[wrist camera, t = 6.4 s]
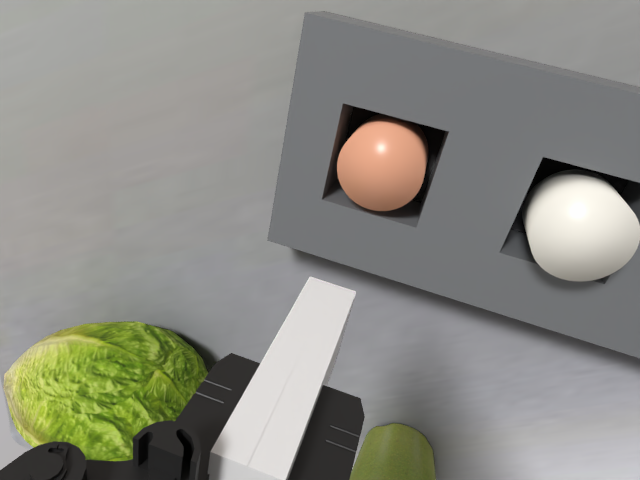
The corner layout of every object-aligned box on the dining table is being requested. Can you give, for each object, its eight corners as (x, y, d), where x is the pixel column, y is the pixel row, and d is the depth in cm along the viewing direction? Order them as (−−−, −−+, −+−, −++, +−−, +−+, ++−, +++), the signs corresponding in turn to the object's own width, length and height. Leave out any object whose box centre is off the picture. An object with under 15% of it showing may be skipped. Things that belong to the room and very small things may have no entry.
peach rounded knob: (439, 124, 28) (436, 140, 25) (415, 198, 31) (409, 221, 28) (360, 103, 29) (347, 116, 26) (342, 177, 31) (329, 197, 28)
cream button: (636, 184, 26) (661, 209, 22) (592, 260, 28) (609, 293, 25) (543, 159, 26) (554, 180, 23) (508, 235, 29) (514, 264, 25)
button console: (972, 167, 23) (1068, 198, 20) (782, 369, 30) (826, 420, 26) (324, 11, 28) (303, 12, 24) (286, 216, 35) (265, 242, 31)
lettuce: (-48, 311, 41) (-69, 474, 40) (140, 332, 32) (122, 543, 31) (80, 308, 53) (67, 434, 52) (245, 323, 44) (234, 476, 43)
